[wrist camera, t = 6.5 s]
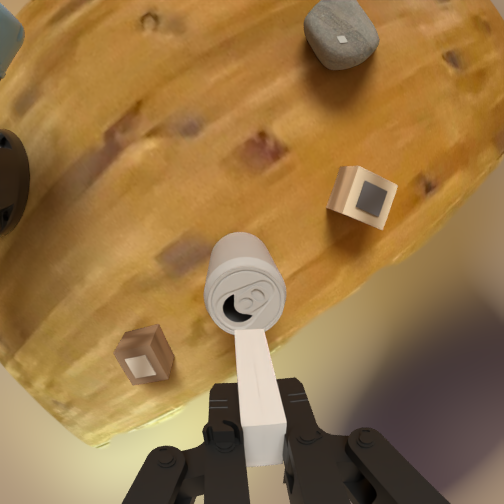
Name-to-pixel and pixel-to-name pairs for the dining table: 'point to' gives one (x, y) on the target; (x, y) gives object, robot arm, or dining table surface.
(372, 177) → the beech block
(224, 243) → the beverage can
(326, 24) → the stone
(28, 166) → the robot arm
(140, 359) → the walnut block
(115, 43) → the dining table surface
